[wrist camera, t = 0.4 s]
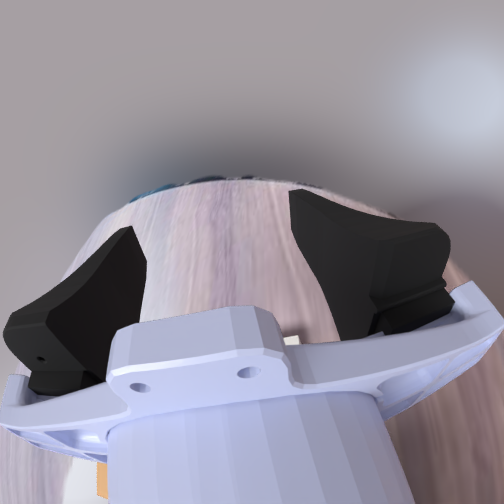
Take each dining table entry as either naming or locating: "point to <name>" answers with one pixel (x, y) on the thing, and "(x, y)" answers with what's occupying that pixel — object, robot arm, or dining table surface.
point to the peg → (102, 480)
